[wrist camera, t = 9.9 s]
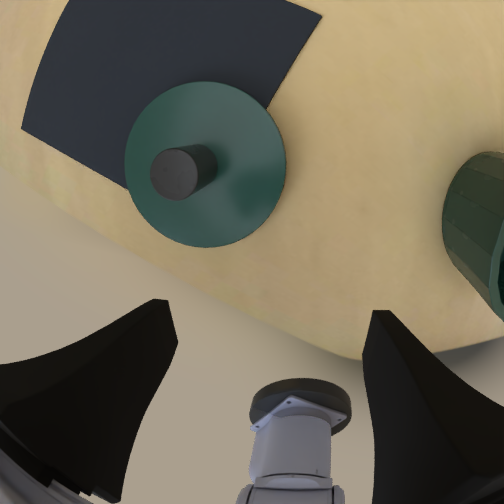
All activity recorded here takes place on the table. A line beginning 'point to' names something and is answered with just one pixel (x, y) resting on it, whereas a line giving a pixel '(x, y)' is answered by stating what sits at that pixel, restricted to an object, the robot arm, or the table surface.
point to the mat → (152, 65)
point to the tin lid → (205, 164)
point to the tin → (478, 226)
